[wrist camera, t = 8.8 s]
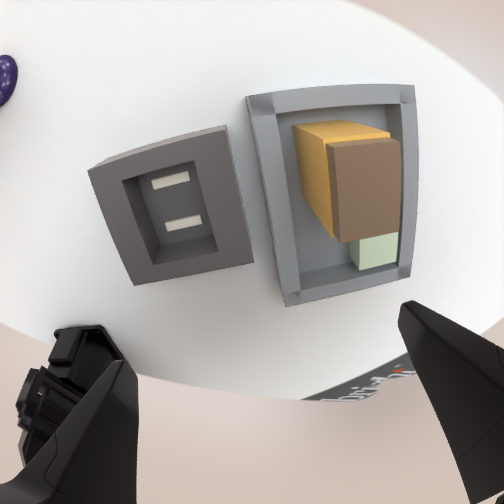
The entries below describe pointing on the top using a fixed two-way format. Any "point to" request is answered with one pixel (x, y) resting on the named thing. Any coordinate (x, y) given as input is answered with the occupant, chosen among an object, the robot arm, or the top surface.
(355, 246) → the block
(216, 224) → the fuse holder
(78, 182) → the top surface
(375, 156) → the block
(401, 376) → the top surface
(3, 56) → the toy lamp
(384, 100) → the parts tray
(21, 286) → the top surface
